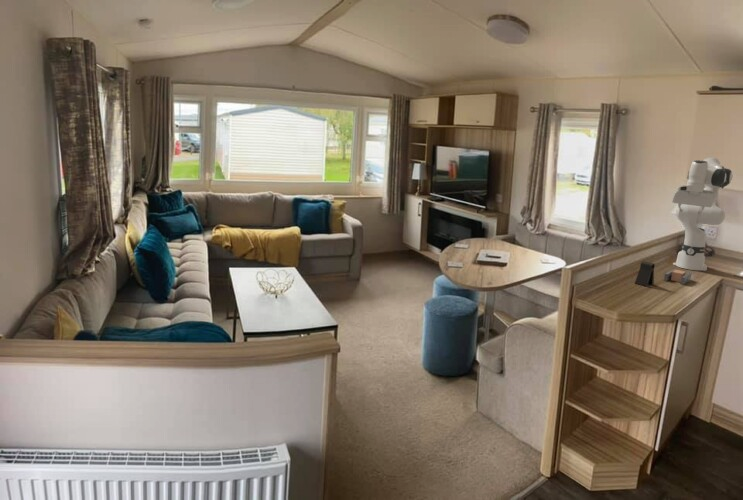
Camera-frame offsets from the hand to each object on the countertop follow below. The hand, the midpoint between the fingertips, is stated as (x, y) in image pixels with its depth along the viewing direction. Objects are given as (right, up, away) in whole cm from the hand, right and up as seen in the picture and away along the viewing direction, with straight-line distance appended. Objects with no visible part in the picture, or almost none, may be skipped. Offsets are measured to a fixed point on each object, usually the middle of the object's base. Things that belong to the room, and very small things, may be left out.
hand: (689, 213), depth 319 cm
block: (-10, -38, -5) cm, 40 cm away
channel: (-10, -38, -6) cm, 40 cm away
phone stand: (-35, -40, -18) cm, 56 cm away
